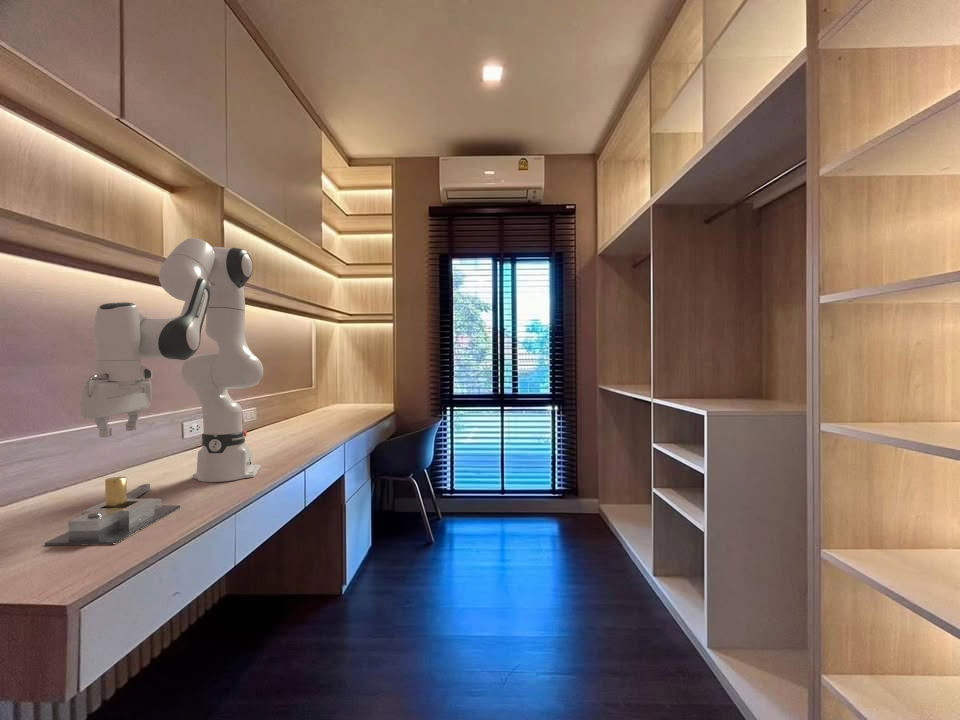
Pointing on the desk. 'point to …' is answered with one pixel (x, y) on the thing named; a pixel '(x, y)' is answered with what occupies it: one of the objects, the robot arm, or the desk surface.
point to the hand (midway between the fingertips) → (119, 433)
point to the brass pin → (116, 492)
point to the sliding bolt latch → (112, 522)
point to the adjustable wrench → (138, 491)
